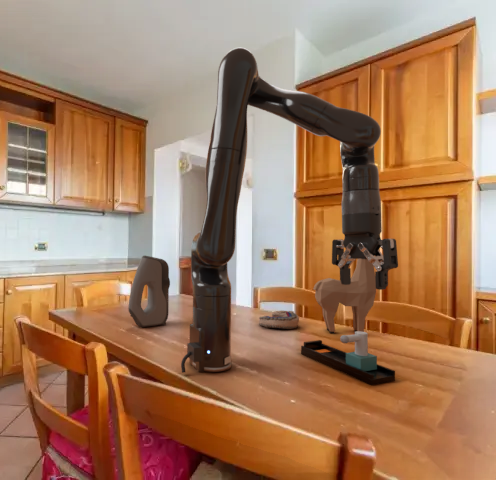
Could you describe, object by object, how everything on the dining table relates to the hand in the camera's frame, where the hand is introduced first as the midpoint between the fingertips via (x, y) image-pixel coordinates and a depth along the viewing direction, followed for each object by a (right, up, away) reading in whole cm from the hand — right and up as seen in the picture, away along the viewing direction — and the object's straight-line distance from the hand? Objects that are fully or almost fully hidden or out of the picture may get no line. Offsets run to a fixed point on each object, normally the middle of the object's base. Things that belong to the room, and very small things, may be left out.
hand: (362, 286), depth 73 cm
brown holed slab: (-50, -21, +46) cm, 71 cm away
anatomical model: (-3, -21, +48) cm, 52 cm away
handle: (0, -19, +3) cm, 19 cm away
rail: (0, -20, +8) cm, 22 cm away
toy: (+16, -21, +39) cm, 47 cm away
